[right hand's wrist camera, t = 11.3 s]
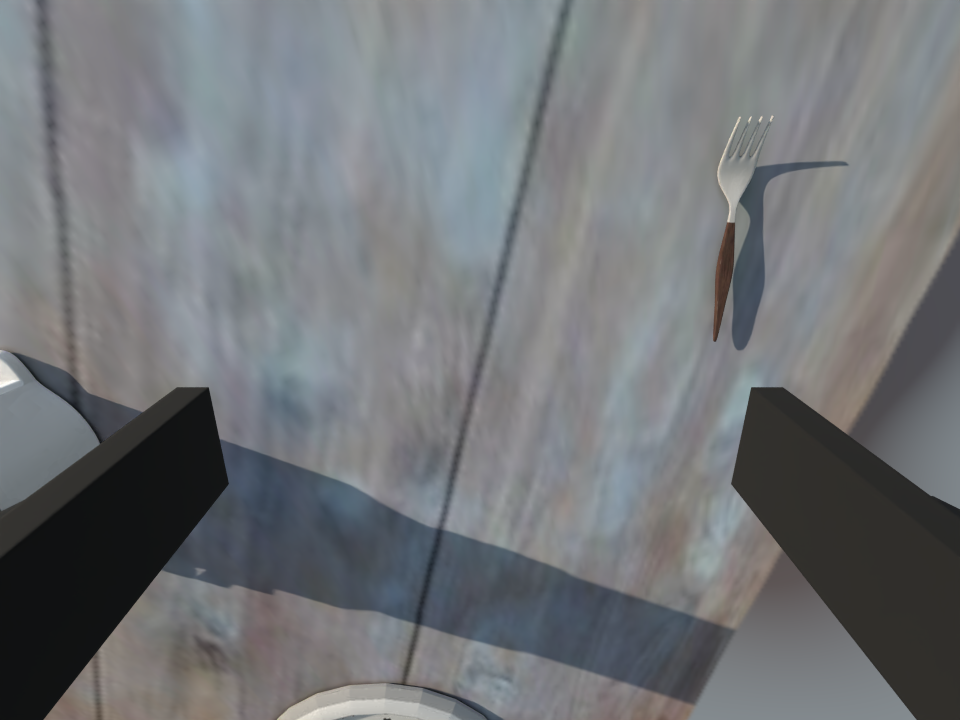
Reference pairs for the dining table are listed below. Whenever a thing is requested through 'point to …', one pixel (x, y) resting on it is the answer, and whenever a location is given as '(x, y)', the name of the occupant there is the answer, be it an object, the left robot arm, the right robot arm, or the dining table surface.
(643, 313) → the dining table surface
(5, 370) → the left robot arm
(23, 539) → the right robot arm
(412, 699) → the wall clock
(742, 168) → the fork
